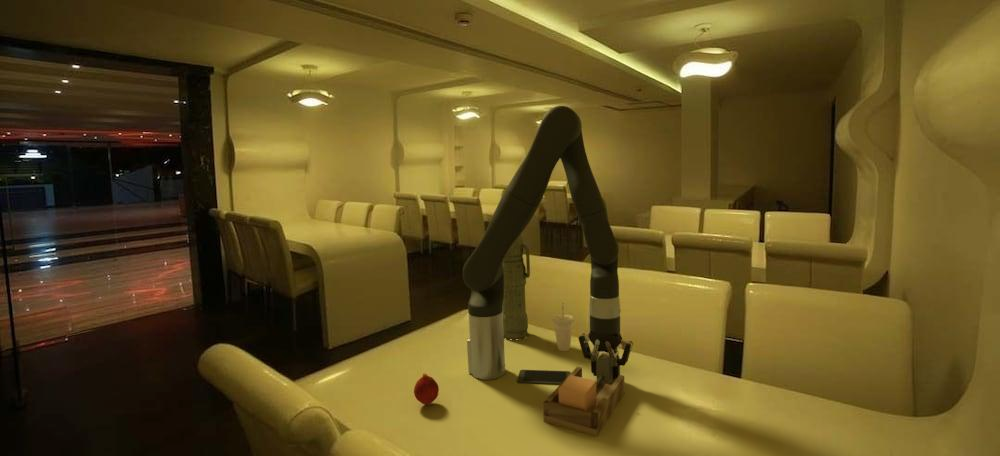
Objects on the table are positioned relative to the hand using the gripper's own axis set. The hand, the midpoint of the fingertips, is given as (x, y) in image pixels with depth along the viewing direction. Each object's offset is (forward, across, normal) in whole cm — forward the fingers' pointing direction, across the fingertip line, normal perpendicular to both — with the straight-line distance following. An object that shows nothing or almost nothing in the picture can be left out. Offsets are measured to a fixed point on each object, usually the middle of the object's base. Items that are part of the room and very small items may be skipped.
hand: (605, 376), depth 117 cm
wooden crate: (+1, 0, -14) cm, 14 cm away
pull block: (+1, 0, -10) cm, 10 cm away
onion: (+2, -34, -30) cm, 45 cm away
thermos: (+2, -37, +18) cm, 41 cm away
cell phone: (+2, -15, -5) cm, 16 cm away
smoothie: (+2, -18, +15) cm, 23 cm away
